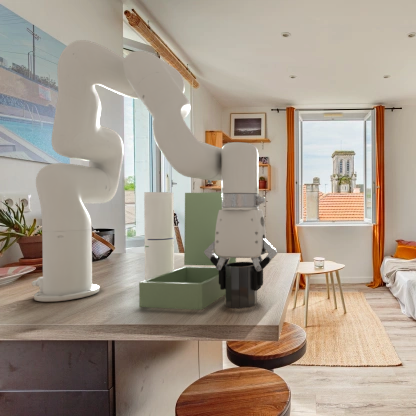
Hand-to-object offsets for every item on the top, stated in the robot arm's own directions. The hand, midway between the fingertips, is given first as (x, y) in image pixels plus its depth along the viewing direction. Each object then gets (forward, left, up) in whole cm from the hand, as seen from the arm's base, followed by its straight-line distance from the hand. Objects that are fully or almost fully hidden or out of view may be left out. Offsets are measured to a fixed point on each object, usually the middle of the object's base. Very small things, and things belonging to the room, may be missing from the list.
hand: (241, 287), depth 68 cm
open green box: (-13, +4, -4) cm, 14 cm away
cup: (0, 0, -4) cm, 4 cm away
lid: (-13, +13, +11) cm, 22 cm away
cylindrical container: (-29, +16, -4) cm, 33 cm away
